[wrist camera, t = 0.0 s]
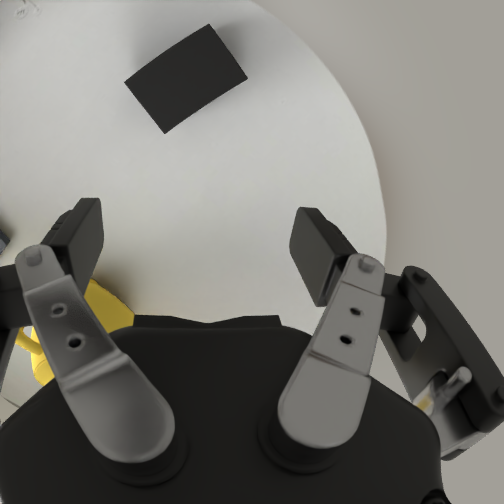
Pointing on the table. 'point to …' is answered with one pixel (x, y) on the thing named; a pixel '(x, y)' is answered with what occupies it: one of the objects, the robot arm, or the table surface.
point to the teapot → (105, 310)
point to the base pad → (3, 241)
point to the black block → (185, 78)
